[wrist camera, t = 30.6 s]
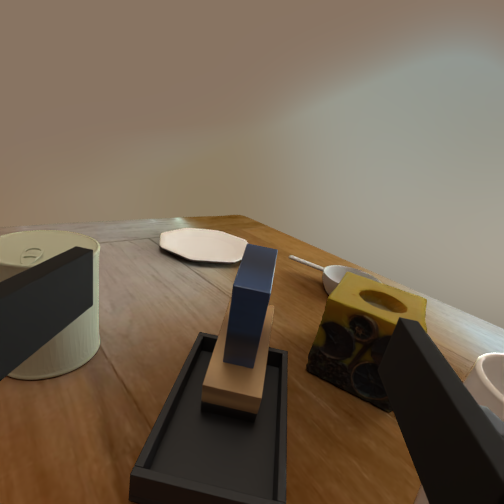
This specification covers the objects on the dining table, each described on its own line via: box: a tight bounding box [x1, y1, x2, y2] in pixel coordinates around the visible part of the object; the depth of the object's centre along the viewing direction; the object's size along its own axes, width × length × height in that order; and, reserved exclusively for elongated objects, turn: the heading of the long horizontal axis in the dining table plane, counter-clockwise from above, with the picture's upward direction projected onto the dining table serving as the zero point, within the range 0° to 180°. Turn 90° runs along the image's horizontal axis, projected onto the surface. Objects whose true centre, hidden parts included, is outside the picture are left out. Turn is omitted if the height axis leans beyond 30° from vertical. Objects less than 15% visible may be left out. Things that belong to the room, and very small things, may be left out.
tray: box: [129, 332, 288, 504], centre depth 27 cm, size 16×10×3 cm, turn 173°
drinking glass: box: [414, 353, 504, 504], centre depth 17 cm, size 7×7×15 cm
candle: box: [306, 272, 427, 412], centre depth 36 cm, size 10×10×10 cm
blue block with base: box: [200, 244, 278, 423], centre depth 28 cm, size 11×5×13 cm, turn 173°
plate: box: [159, 228, 248, 264], centre depth 67 cm, size 20×20×2 cm
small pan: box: [289, 255, 381, 295], centre depth 59 cm, size 11×18×4 cm, turn 64°
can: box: [0, 230, 100, 380], centre depth 30 cm, size 9×9×12 cm
